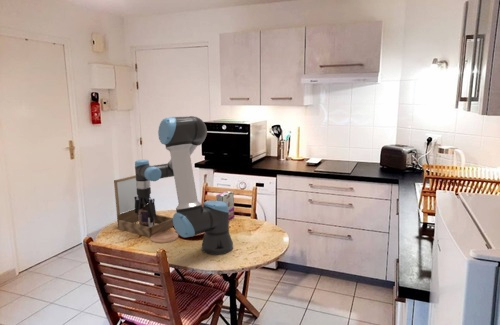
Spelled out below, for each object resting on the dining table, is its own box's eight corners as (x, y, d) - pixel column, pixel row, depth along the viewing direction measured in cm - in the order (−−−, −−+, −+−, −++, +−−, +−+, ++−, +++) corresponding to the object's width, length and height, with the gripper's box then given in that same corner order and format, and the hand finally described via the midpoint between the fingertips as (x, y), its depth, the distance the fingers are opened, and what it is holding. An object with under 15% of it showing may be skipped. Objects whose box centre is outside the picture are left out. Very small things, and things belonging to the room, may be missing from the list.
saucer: (183, 235, 187) (183, 233, 187) (164, 245, 175) (164, 243, 175) (164, 231, 194) (164, 229, 194) (145, 239, 182) (144, 237, 182)
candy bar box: (228, 216, 217) (227, 190, 214) (234, 217, 215) (234, 191, 212) (216, 221, 208) (215, 194, 205) (223, 223, 205) (222, 196, 203)
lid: (142, 206, 212) (140, 174, 208) (118, 215, 197) (115, 180, 193) (141, 206, 213) (139, 174, 209) (116, 215, 197) (113, 180, 194)
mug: (147, 223, 206) (146, 204, 204) (157, 225, 203) (156, 205, 201) (135, 229, 197) (133, 209, 195) (144, 231, 194) (143, 210, 192)
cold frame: (174, 226, 201) (172, 194, 197) (150, 237, 186) (148, 202, 182) (142, 219, 214) (140, 189, 211) (117, 228, 199) (115, 196, 195)
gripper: (161, 188, 194) (163, 227, 198) (136, 184, 204) (139, 221, 208) (151, 191, 187) (154, 231, 191) (125, 186, 198) (128, 225, 202)
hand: (146, 226), depth 200 cm, fingers closed on mug, 7 cm apart
